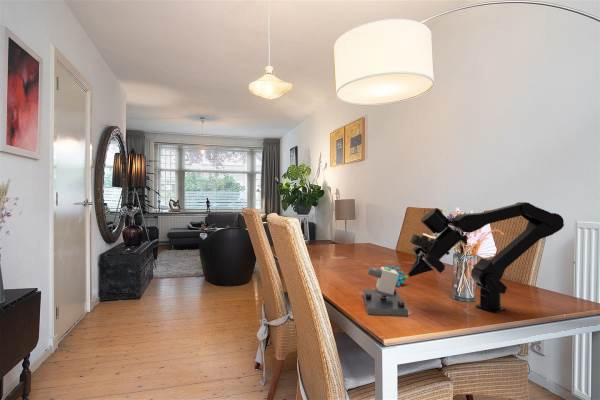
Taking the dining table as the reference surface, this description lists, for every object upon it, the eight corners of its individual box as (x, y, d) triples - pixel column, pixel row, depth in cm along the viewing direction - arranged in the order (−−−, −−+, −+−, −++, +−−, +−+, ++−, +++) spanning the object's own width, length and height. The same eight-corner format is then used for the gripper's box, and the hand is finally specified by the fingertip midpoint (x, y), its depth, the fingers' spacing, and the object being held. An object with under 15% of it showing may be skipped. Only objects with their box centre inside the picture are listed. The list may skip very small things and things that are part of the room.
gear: (380, 283, 127) (381, 262, 134) (378, 290, 132) (378, 270, 138) (408, 287, 126) (407, 266, 133) (405, 294, 130) (404, 274, 137)
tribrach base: (396, 296, 116) (396, 287, 116) (408, 316, 96) (408, 305, 96) (363, 294, 117) (363, 286, 117) (368, 314, 97) (368, 304, 97)
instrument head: (391, 292, 109) (397, 269, 109) (394, 298, 103) (400, 273, 103) (364, 285, 110) (370, 261, 110) (365, 290, 104) (371, 265, 104)
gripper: (418, 223, 114) (387, 253, 115) (434, 228, 95) (396, 263, 97) (441, 246, 113) (409, 275, 114) (461, 255, 95) (422, 290, 96)
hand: (408, 275), depth 105 cm, fingers closed
